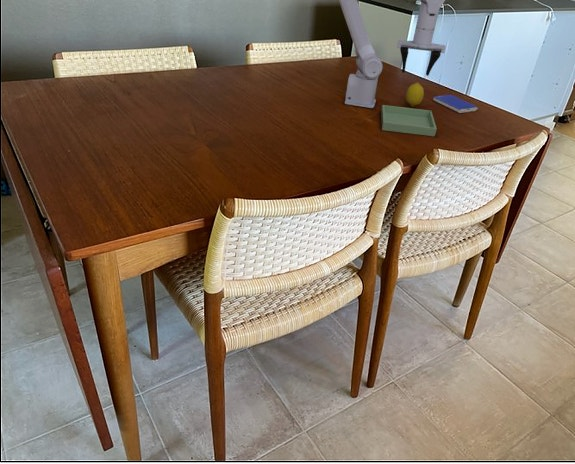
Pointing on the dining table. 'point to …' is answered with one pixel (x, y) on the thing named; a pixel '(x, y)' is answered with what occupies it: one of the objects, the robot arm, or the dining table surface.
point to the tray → (408, 120)
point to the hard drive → (455, 103)
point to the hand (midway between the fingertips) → (415, 73)
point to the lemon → (414, 94)
